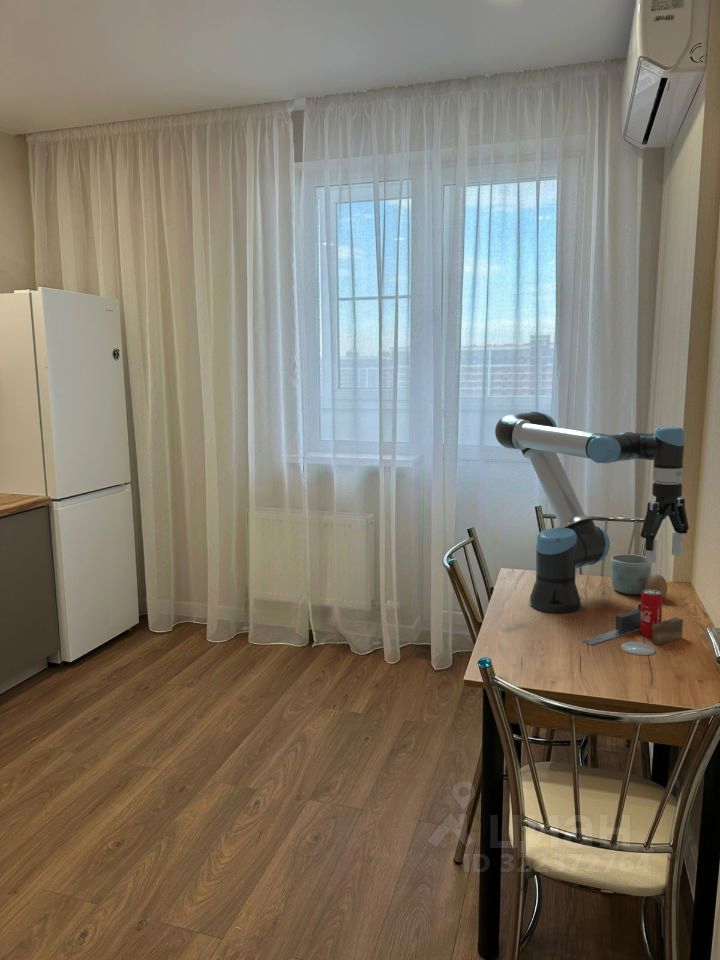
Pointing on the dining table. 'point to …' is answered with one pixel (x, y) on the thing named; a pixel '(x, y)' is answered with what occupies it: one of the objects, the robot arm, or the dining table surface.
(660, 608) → the beverage can
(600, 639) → the rail
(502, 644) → the dining table surface
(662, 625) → the block
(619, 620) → the dark grey block
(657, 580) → the egg
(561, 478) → the robot arm
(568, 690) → the dining table surface
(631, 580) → the planter
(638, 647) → the coaster
